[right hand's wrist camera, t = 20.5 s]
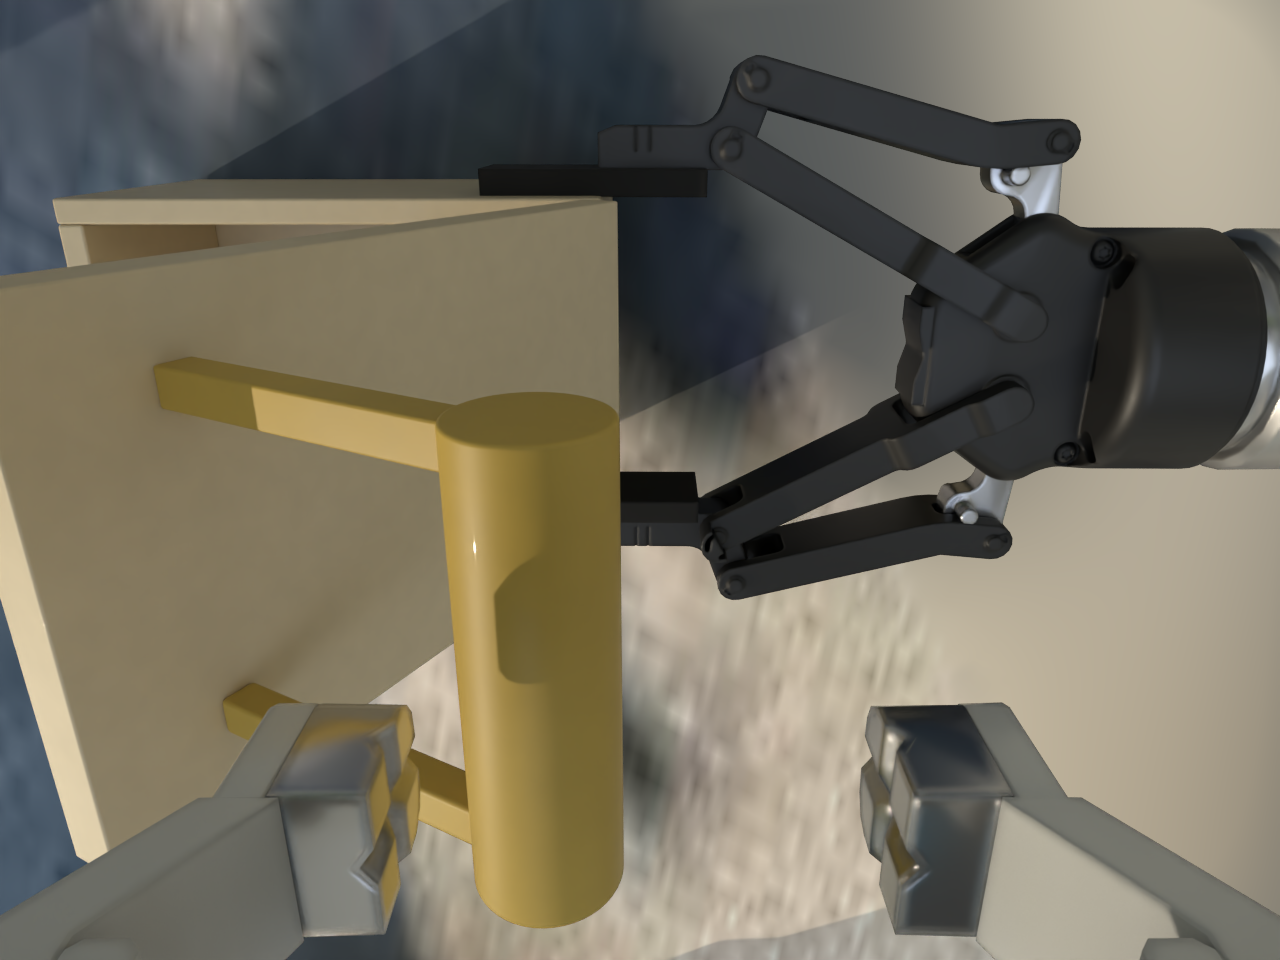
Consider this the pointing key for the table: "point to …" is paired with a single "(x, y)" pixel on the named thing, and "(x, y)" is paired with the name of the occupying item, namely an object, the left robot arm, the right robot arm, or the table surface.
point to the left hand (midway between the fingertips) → (496, 348)
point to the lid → (329, 521)
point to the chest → (258, 212)
